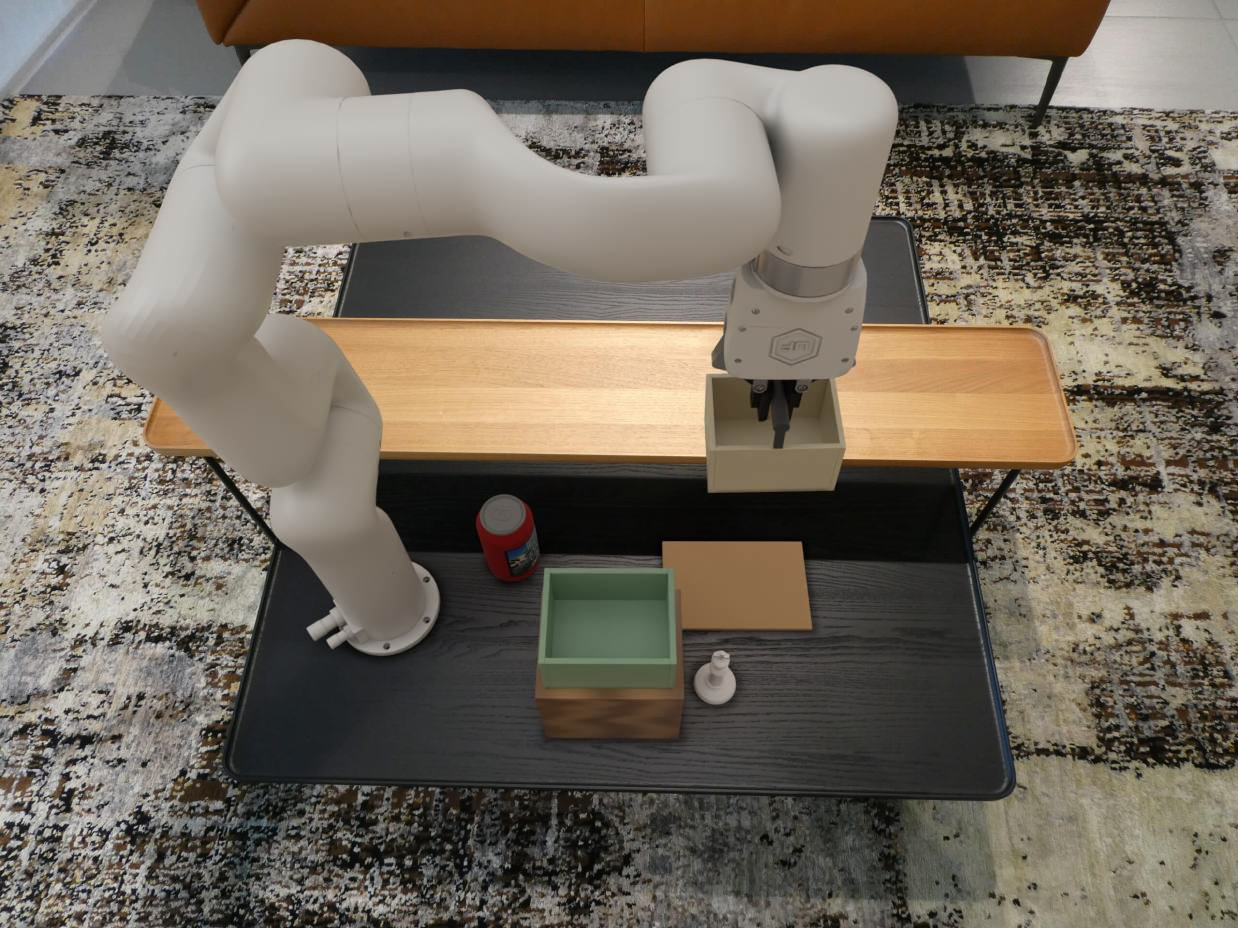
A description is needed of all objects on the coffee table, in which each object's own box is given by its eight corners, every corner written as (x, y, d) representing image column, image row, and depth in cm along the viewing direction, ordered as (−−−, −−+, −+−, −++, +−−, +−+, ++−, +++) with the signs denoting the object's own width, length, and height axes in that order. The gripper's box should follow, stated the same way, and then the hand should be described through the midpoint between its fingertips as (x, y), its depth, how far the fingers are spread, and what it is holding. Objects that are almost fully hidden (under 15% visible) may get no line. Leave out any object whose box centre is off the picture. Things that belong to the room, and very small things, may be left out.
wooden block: (546, 737, 96) (534, 698, 84) (552, 638, 103) (541, 588, 91) (678, 738, 96) (684, 699, 84) (675, 638, 102) (680, 589, 91)
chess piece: (696, 660, 101) (702, 627, 92) (737, 667, 100) (747, 634, 92) (691, 700, 98) (696, 670, 90) (733, 707, 97) (742, 678, 89)
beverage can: (533, 588, 106) (522, 543, 96) (481, 579, 107) (466, 533, 97) (546, 542, 110) (537, 494, 100) (496, 533, 111) (483, 485, 101)
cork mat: (664, 630, 103) (664, 628, 102) (662, 543, 110) (662, 541, 109) (811, 630, 103) (812, 628, 102) (800, 543, 109) (801, 541, 109)
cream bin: (708, 493, 78) (711, 425, 70) (704, 419, 83) (707, 346, 74) (833, 490, 78) (853, 421, 69) (822, 416, 83) (840, 343, 74)
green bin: (544, 688, 85) (538, 663, 79) (550, 597, 90) (544, 567, 84) (673, 688, 85) (676, 664, 79) (671, 597, 90) (673, 567, 84)
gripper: (696, 289, 58) (685, 443, 73) (927, 287, 57) (867, 443, 72) (693, 216, 62) (683, 376, 77) (908, 214, 61) (855, 375, 77)
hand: (772, 408), depth 75 cm, fingers closed on cream bin, 1 cm apart
